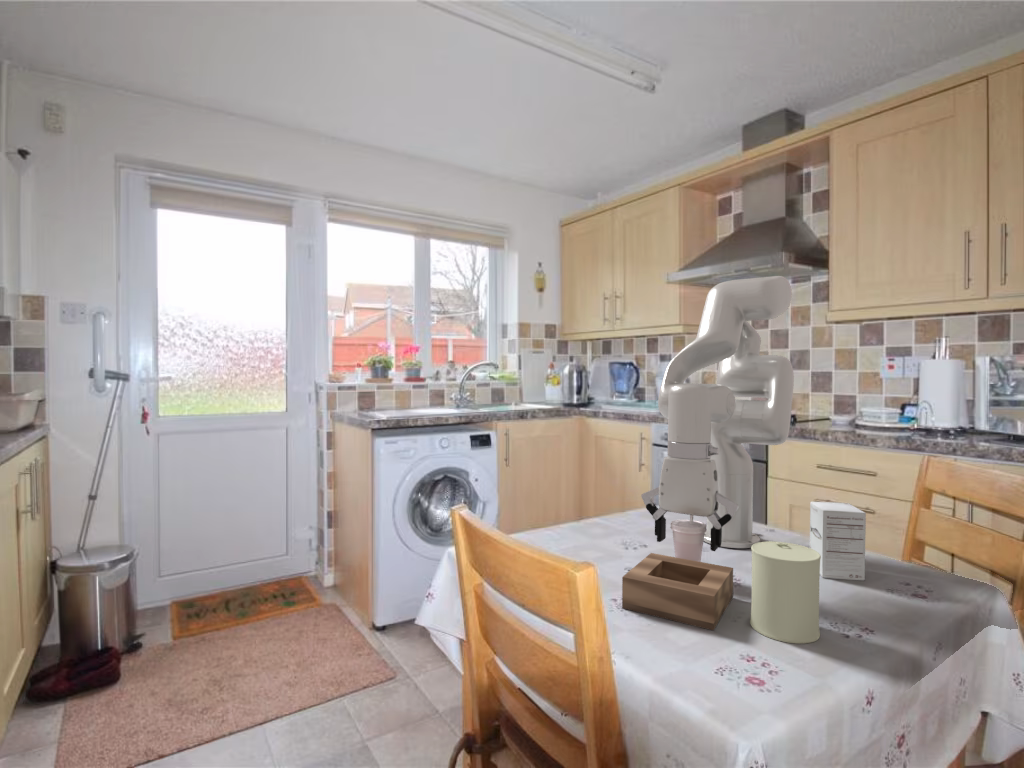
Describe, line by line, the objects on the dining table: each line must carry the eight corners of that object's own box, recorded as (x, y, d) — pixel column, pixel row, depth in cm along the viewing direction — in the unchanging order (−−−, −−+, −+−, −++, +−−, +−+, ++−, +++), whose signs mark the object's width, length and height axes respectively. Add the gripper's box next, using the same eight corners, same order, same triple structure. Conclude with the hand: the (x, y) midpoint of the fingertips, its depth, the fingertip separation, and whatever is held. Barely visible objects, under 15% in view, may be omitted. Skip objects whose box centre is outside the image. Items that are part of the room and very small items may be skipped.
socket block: (650, 580, 99) (651, 552, 99) (732, 597, 92) (733, 567, 92) (622, 608, 87) (622, 576, 87) (713, 630, 80) (714, 596, 80)
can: (809, 618, 84) (810, 540, 84) (829, 647, 75) (830, 560, 75) (744, 612, 86) (745, 536, 86) (756, 639, 77) (757, 555, 77)
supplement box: (808, 564, 108) (809, 500, 108) (849, 567, 106) (850, 502, 106) (821, 578, 101) (822, 509, 100) (866, 581, 99) (867, 511, 99)
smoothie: (708, 583, 98) (709, 505, 98) (671, 580, 99) (672, 503, 99) (703, 571, 104) (704, 497, 104) (668, 568, 105) (669, 495, 105)
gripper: (742, 453, 100) (741, 548, 100) (649, 446, 109) (648, 532, 109) (734, 457, 93) (732, 558, 93) (636, 449, 103) (634, 541, 103)
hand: (687, 544), depth 101 cm, fingers open, 9 cm apart
